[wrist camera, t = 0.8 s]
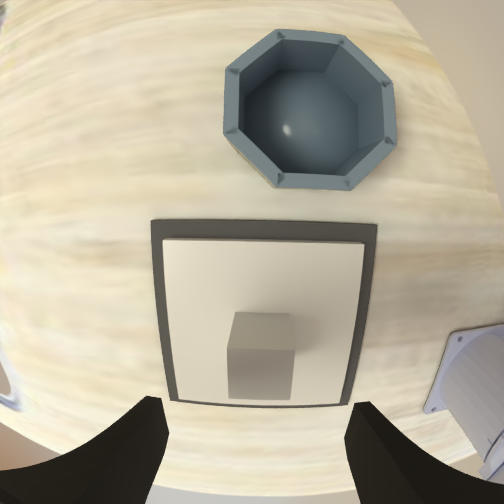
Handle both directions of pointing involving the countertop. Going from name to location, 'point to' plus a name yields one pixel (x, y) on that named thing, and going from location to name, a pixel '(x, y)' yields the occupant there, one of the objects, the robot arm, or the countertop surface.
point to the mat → (262, 231)
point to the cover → (261, 318)
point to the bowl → (309, 110)
